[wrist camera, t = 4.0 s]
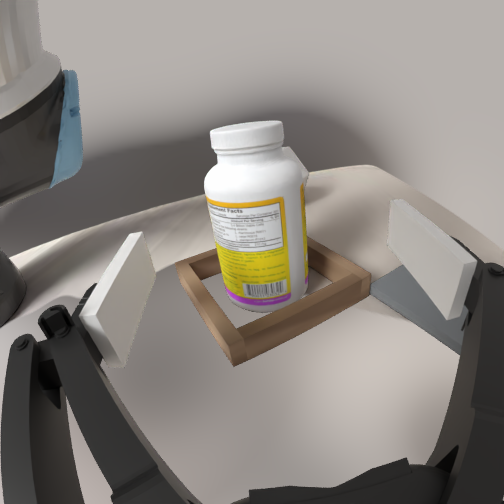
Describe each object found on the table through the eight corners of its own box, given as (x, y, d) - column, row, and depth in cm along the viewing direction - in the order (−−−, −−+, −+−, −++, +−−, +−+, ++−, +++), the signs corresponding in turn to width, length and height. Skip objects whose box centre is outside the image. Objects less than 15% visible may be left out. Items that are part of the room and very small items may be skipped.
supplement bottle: (268, 259, 28) (251, 119, 22) (325, 285, 24) (319, 119, 18) (210, 292, 25) (176, 135, 19) (265, 330, 20) (238, 133, 14)
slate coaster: (368, 292, 22) (369, 284, 22) (433, 251, 26) (434, 243, 25) (470, 362, 14) (474, 354, 14) (515, 295, 18) (518, 287, 17)
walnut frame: (180, 281, 27) (174, 262, 26) (286, 241, 31) (285, 224, 30) (233, 366, 18) (228, 345, 17) (368, 295, 22) (371, 274, 21)
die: (305, 197, 44) (264, 147, 43) (333, 181, 35) (284, 121, 34) (265, 231, 42) (221, 178, 41) (288, 222, 34) (233, 156, 32)
